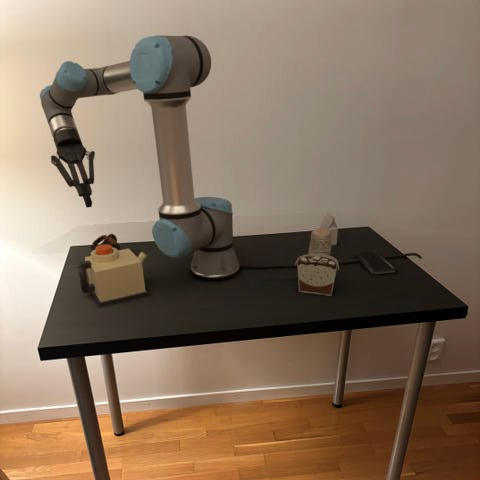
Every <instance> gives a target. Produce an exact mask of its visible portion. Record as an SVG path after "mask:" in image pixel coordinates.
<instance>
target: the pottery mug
mask: <svg viewBox="0 0 480 480" xmlns="http://www.w3.org/2000/svg"><path fill="white" fill-rule="evenodd" d="M104 244H107V245H111V246H112V247H113V248H116V249H117V250H118V251H119V250H122V248H121V246H120V245H119V243H118V238H117V236H116V235H115V234H114V233H110V234H108V235H107V234H102V235H100V236H98V237H97V238H96V239H95V240H94V241H93V242H92V244H91V245H90V246H89V250H90V251H91V252H92V251H93V250H95V249H96V247H97V246H99V245H104Z"/></svg>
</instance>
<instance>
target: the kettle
mask: <svg viewBox="0 0 480 480" xmlns="http://www.w3.org/2000/svg"><path fill="white" fill-rule="evenodd" d="M137 257H138V256H137V255H136V254H135V253H134V252H133V251H132V250H131V249H130V248H124V249H121V250H119V251H118V250H117V248H113V247H112V253H111V254H108V255H97V253H96V249H95V250H93V251H92V250H91V251H90V255H88V256H84V261H90V262H91V268H89V269H86V271H87V272H86V273H87V278H88V281H89V282H88V283H89V284H92V283H93V284H94V286H95V291H94V293H95V294H96V296H97V297H98V299H99V300H100V302H104V301H108V300H113V299H117V298H121V297H125V296H129V295H134V294H138V293H142V292H146V291H147V290H146V291H145V289H146V285H145V284H146V283H145V277H144V269H143V264H142V262H141V261H140V260H139V259H138V258H137Z"/></svg>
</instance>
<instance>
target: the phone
mask: <svg viewBox="0 0 480 480" xmlns="http://www.w3.org/2000/svg"><path fill="white" fill-rule="evenodd" d="M383 256H384V255H382V254H381V253H380V252H379V251H365V252H363V251H362V252H357V253H356V254H355V258H356V259H361V261H360V263H361V264H362V266H363V267H365V269H367V270H368V272H370V273H371V274H372V275H383V274H392V273H393V274H394V273H396V272H397V271H396V269H397V268H396V266H394V264H392V263H391V262H390V261H389V260H388V258H384V257H383Z"/></svg>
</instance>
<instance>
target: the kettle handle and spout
mask: <svg viewBox="0 0 480 480" xmlns="http://www.w3.org/2000/svg"><path fill="white" fill-rule="evenodd" d="M136 257H137V258H138V259H139V260H140V261H141V262H142V265H143V264H144V263H145V261H146V260H147V258H148V257H149V256H148V255H147V254H146V253H145V252H143V251H141V252H140V253H139V254H138V256H136ZM76 268H77V269H76V270H77V273H78V278H79V283H80V289H81V292H82V293H83V294H88V293H90V294H91V295H92V296H93V298H94V299H95V302H97V304H98V306H99V307H104V306H108V305H112V304H117V303H121V302H124V301H128V300H132V299H137V298H142V297H145V296H148V295H149V291H148V290H147V289H146V288H145V291H146V292H142V293H138V294H134V295H129V296H125V297H121V298H117V299H113V300H108V301H104V302H100V300H99V299H98V297H97V296H96V294H95V293H94V291H95V286H94V284H93V283H92V284H90V283H89V282H88V281H89V280H88V275H87V272H86V271H87V269H89V268H91V262H90V261H85V260H84V261H79V263H78V264H77V265H76Z"/></svg>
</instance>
